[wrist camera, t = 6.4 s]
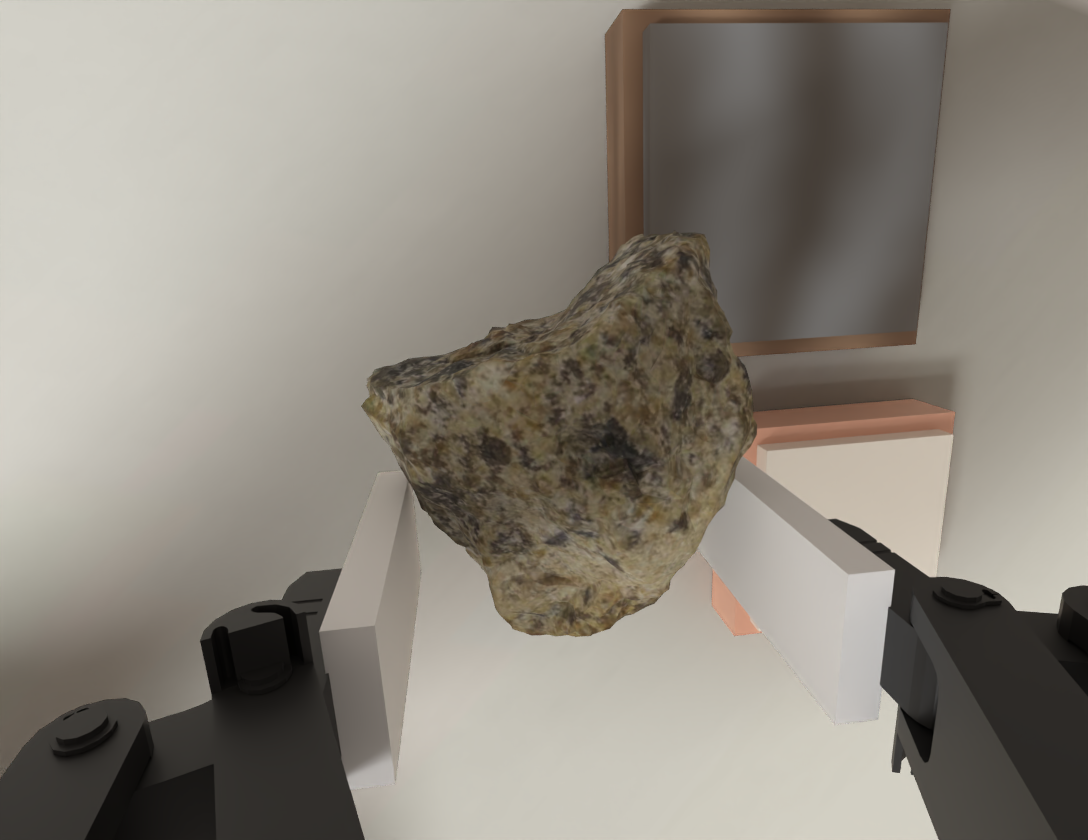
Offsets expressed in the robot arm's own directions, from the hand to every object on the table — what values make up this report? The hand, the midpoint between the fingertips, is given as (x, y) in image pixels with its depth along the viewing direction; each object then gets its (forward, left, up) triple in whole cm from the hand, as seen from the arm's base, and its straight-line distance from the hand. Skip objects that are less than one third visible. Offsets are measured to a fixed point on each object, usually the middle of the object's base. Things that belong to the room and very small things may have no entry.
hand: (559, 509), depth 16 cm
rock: (0, +2, 0) cm, 2 cm away
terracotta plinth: (+16, -8, -16) cm, 24 cm away
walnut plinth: (+12, +8, -16) cm, 22 cm away
